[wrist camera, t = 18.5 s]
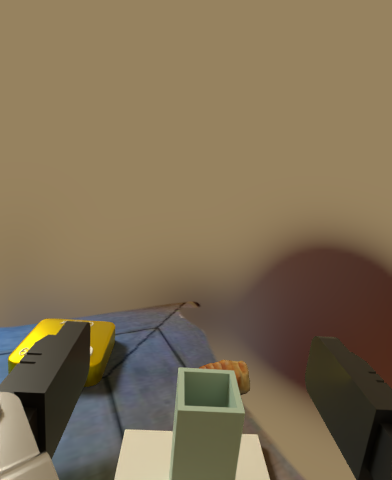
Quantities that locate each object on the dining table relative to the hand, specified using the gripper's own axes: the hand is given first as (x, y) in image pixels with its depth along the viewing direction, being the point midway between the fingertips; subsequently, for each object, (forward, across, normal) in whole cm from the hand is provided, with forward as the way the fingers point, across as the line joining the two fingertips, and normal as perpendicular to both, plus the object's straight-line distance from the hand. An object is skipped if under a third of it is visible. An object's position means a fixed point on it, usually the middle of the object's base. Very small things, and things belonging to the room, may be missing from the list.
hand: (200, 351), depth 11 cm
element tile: (+42, +20, +31) cm, 56 cm away
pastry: (+38, -9, +30) cm, 49 cm away
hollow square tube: (+16, -3, +28) cm, 33 cm away
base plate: (+16, -3, +30) cm, 34 cm away
